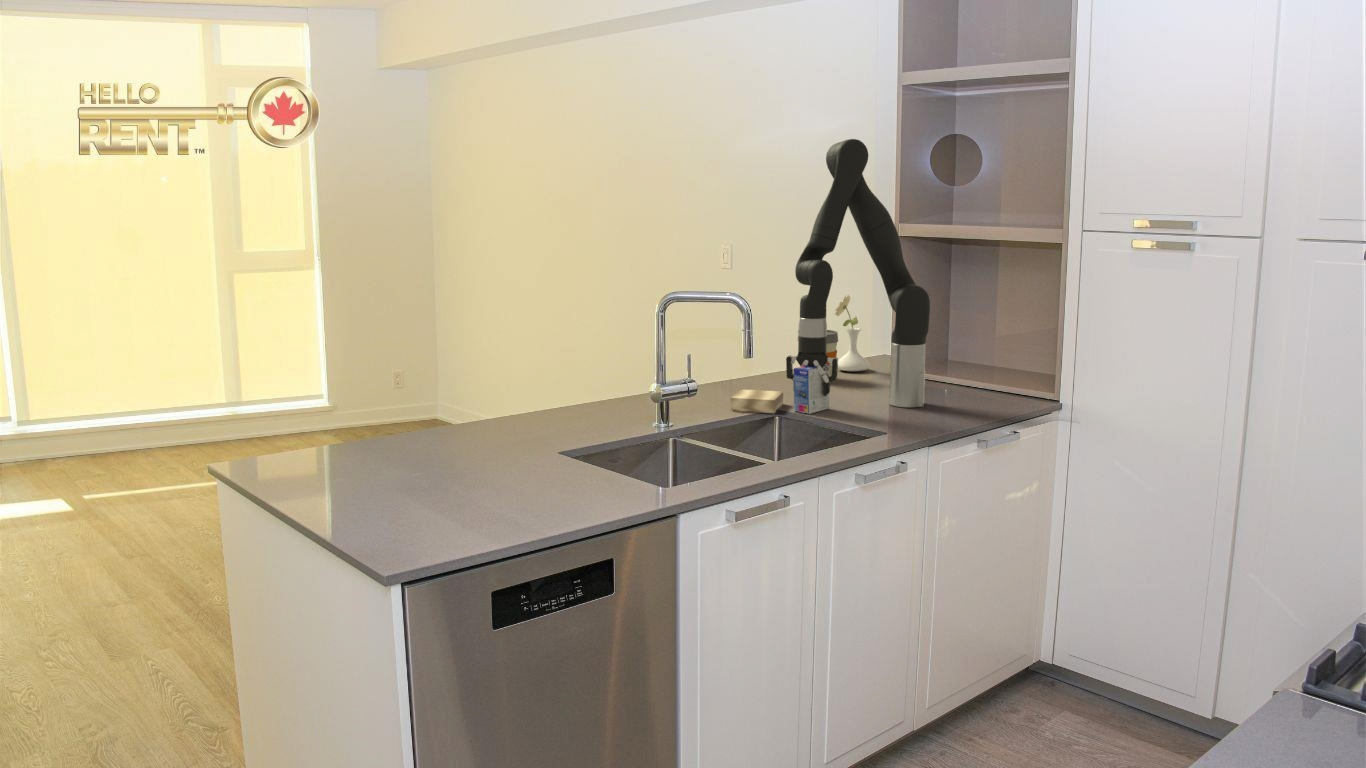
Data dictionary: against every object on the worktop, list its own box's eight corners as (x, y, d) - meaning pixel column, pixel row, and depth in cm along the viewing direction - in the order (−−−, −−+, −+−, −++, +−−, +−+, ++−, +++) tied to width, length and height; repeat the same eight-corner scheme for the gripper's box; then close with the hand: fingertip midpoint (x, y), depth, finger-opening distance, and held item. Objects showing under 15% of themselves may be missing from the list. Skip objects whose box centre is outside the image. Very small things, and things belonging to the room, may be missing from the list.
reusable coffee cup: (819, 385, 319) (820, 336, 317) (788, 379, 329) (789, 332, 326) (845, 379, 328) (846, 332, 325) (814, 374, 337) (815, 328, 334)
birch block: (783, 405, 292) (783, 391, 292) (774, 414, 281) (774, 400, 280) (741, 403, 296) (741, 389, 295) (730, 412, 285) (730, 397, 284)
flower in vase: (851, 366, 351) (853, 291, 347) (877, 371, 342) (879, 294, 338) (824, 370, 343) (825, 294, 339) (850, 375, 334) (851, 297, 330)
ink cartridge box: (813, 406, 290) (814, 354, 287) (830, 408, 286) (831, 356, 283) (792, 411, 282) (793, 358, 280) (809, 414, 279) (810, 361, 276)
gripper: (841, 333, 282) (840, 393, 285) (788, 331, 286) (787, 391, 289) (837, 337, 275) (835, 399, 278) (783, 335, 279) (782, 396, 282)
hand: (811, 394), depth 283 cm, fingers closed on ink cartridge box, 7 cm apart
